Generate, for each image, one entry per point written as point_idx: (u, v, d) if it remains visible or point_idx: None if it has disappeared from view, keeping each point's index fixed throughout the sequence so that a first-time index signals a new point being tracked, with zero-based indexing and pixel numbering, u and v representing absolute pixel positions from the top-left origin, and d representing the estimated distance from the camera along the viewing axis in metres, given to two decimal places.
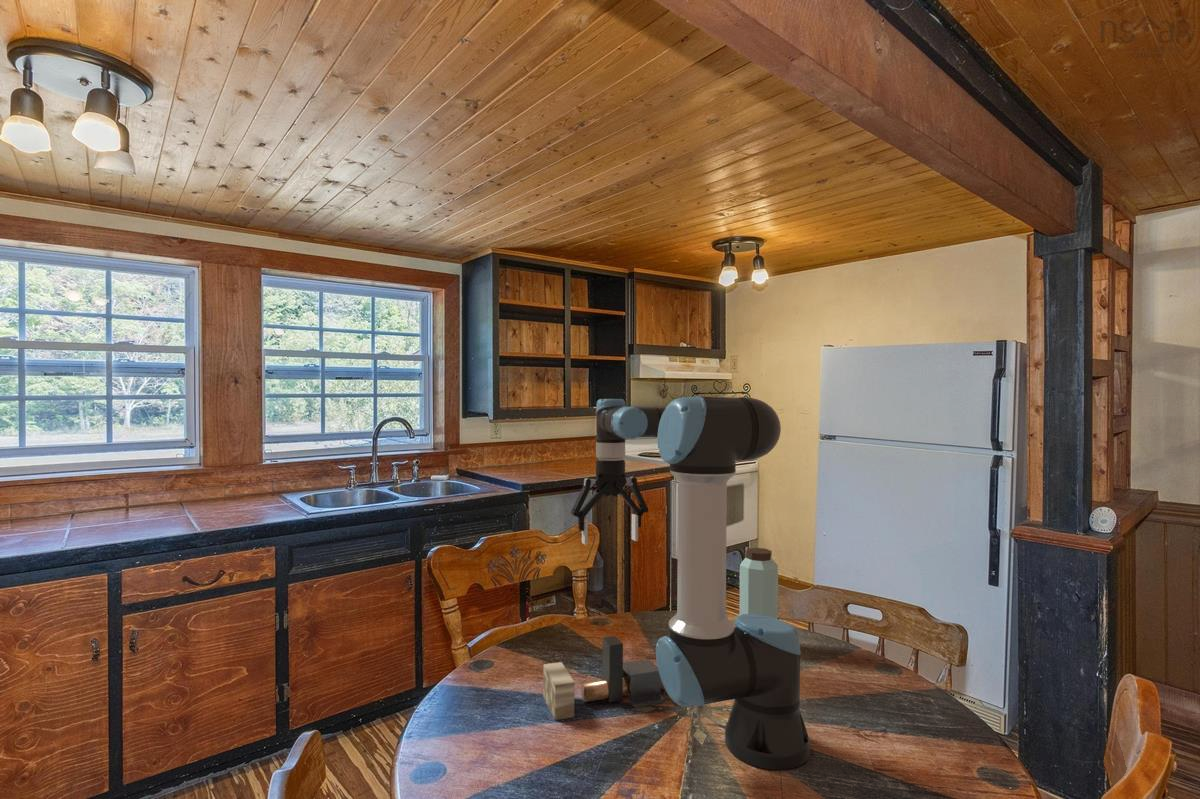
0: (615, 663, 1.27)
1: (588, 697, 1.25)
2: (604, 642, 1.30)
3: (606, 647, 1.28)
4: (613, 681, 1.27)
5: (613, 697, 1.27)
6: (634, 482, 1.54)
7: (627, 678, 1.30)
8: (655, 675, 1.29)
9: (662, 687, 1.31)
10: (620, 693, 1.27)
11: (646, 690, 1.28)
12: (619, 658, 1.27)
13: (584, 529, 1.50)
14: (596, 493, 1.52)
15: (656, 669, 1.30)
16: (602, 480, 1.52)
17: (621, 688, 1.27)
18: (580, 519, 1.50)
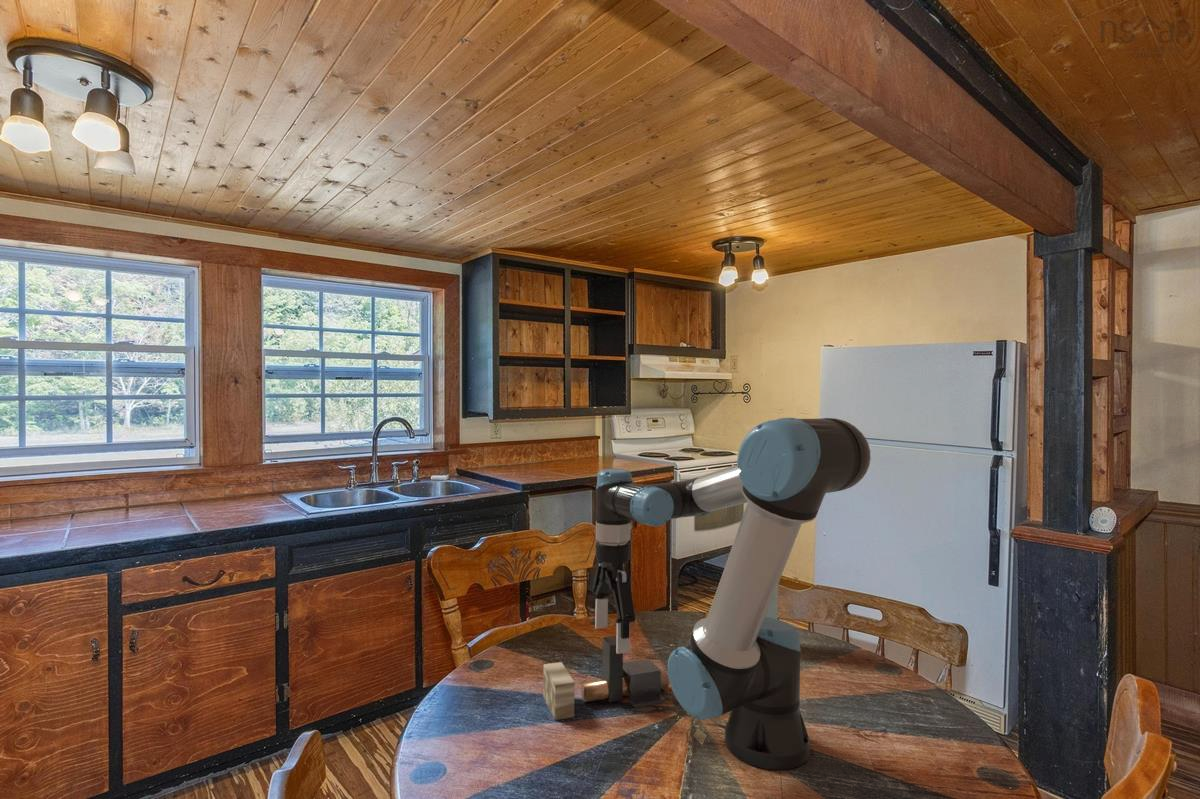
0: (615, 663, 1.27)
1: (588, 697, 1.25)
2: (604, 642, 1.30)
3: (606, 647, 1.28)
4: (613, 681, 1.27)
5: (613, 697, 1.27)
6: (617, 578, 1.23)
7: (627, 678, 1.30)
8: (655, 675, 1.29)
9: (662, 687, 1.31)
10: (620, 693, 1.27)
11: (646, 690, 1.28)
12: (619, 658, 1.27)
13: None
14: None
15: (656, 669, 1.30)
16: (604, 563, 1.31)
17: (621, 688, 1.27)
18: (597, 598, 1.37)
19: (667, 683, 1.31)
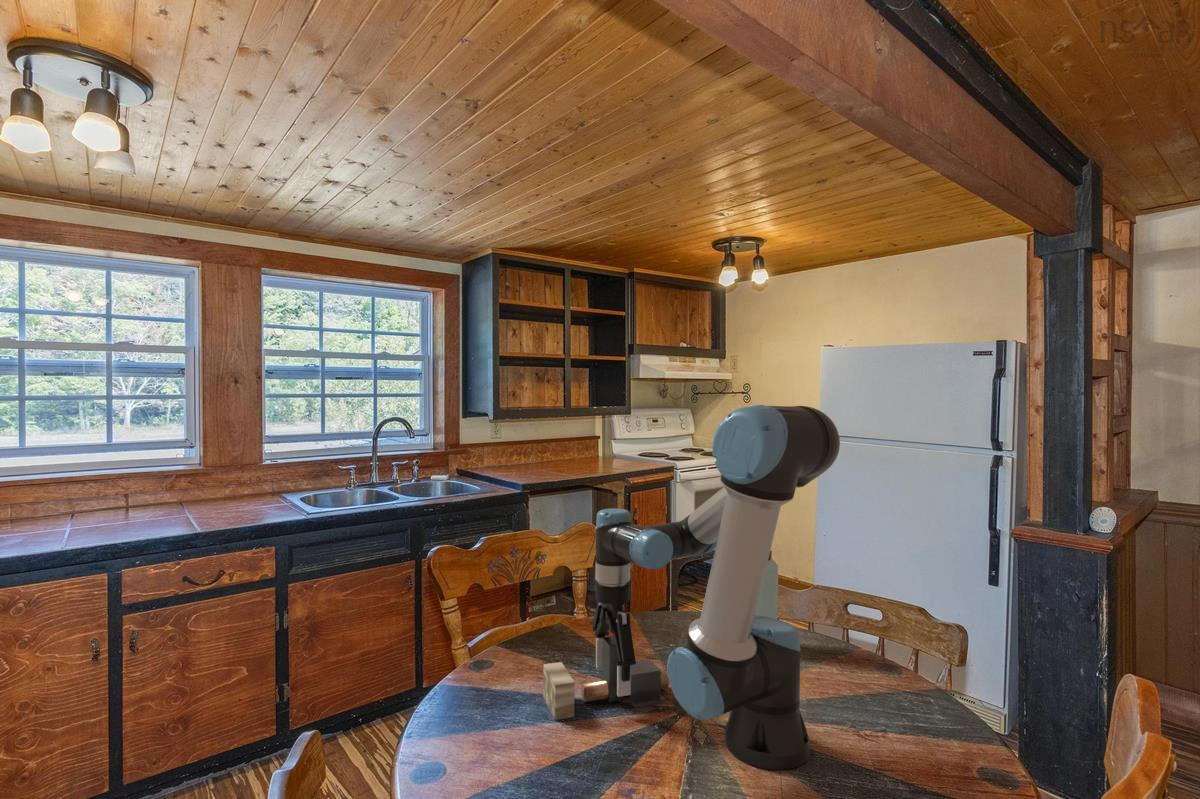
0: (615, 663, 1.27)
1: (588, 697, 1.25)
2: (604, 642, 1.30)
3: (606, 647, 1.28)
4: (613, 681, 1.27)
5: (613, 697, 1.27)
6: (617, 620, 1.23)
7: None
8: (655, 675, 1.29)
9: (662, 687, 1.31)
10: None
11: (646, 690, 1.28)
12: None
13: None
14: None
15: (656, 669, 1.30)
16: None
17: None
18: (597, 637, 1.37)
19: (667, 683, 1.31)
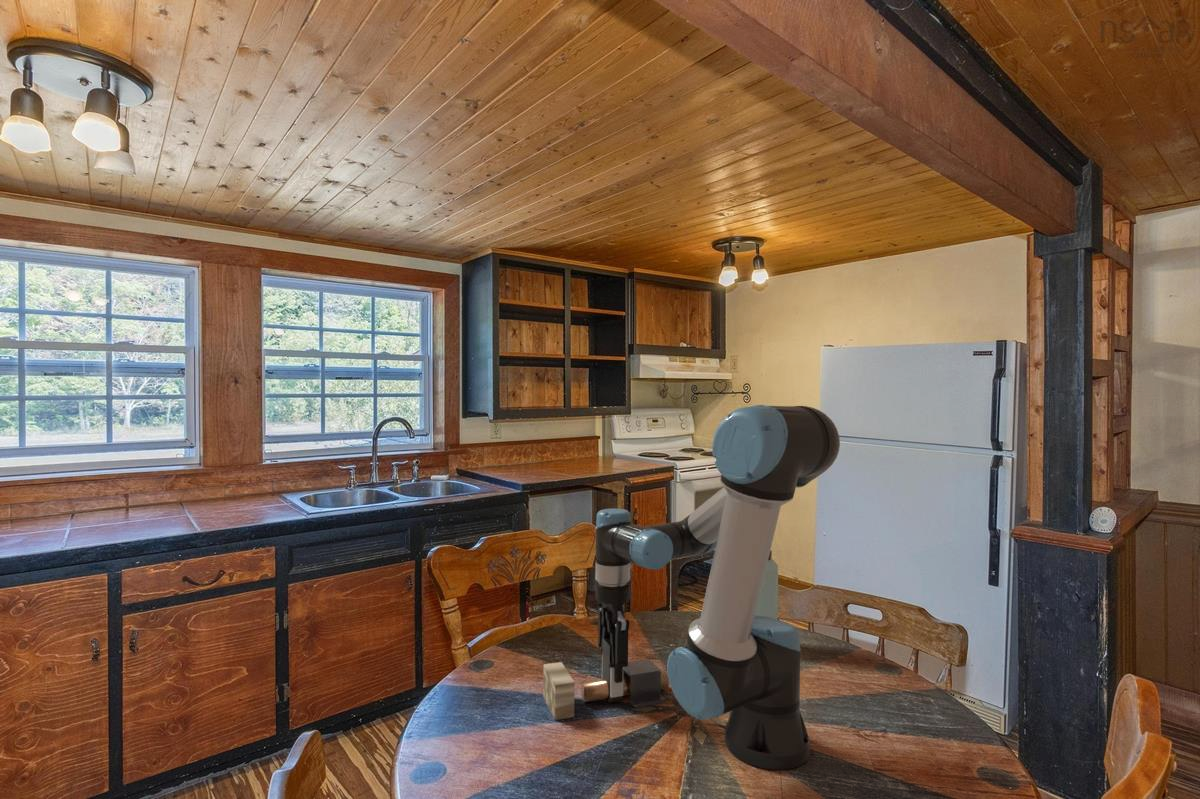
0: None
1: (588, 697, 1.25)
2: (604, 642, 1.30)
3: (606, 647, 1.28)
4: None
5: (613, 697, 1.27)
6: (616, 626, 1.23)
7: (627, 678, 1.30)
8: (655, 675, 1.29)
9: (662, 687, 1.31)
10: None
11: (646, 690, 1.28)
12: None
13: None
14: None
15: (656, 669, 1.30)
16: None
17: None
18: None
19: (667, 683, 1.31)
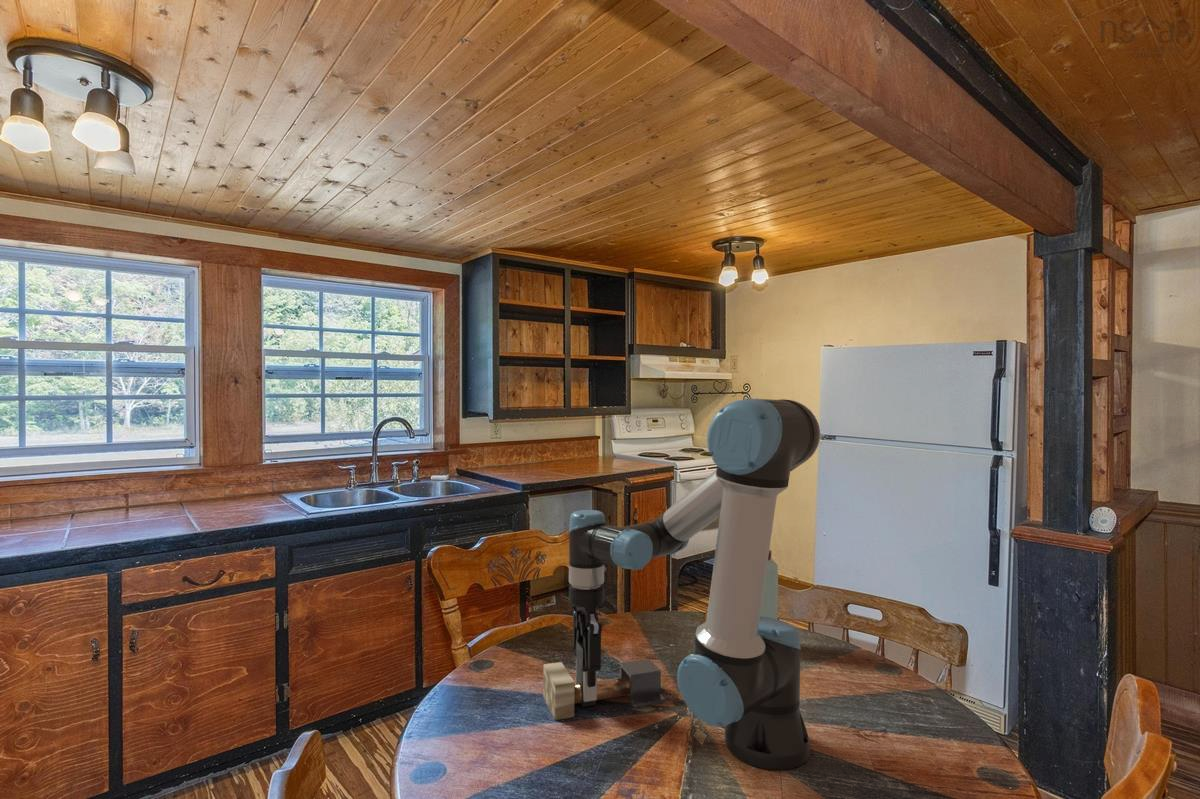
0: None
1: None
2: (577, 645, 1.28)
3: (580, 650, 1.26)
4: None
5: None
6: (589, 629, 1.21)
7: (601, 682, 1.28)
8: (655, 675, 1.29)
9: None
10: None
11: (646, 690, 1.28)
12: None
13: None
14: None
15: (656, 669, 1.30)
16: None
17: None
18: None
19: None
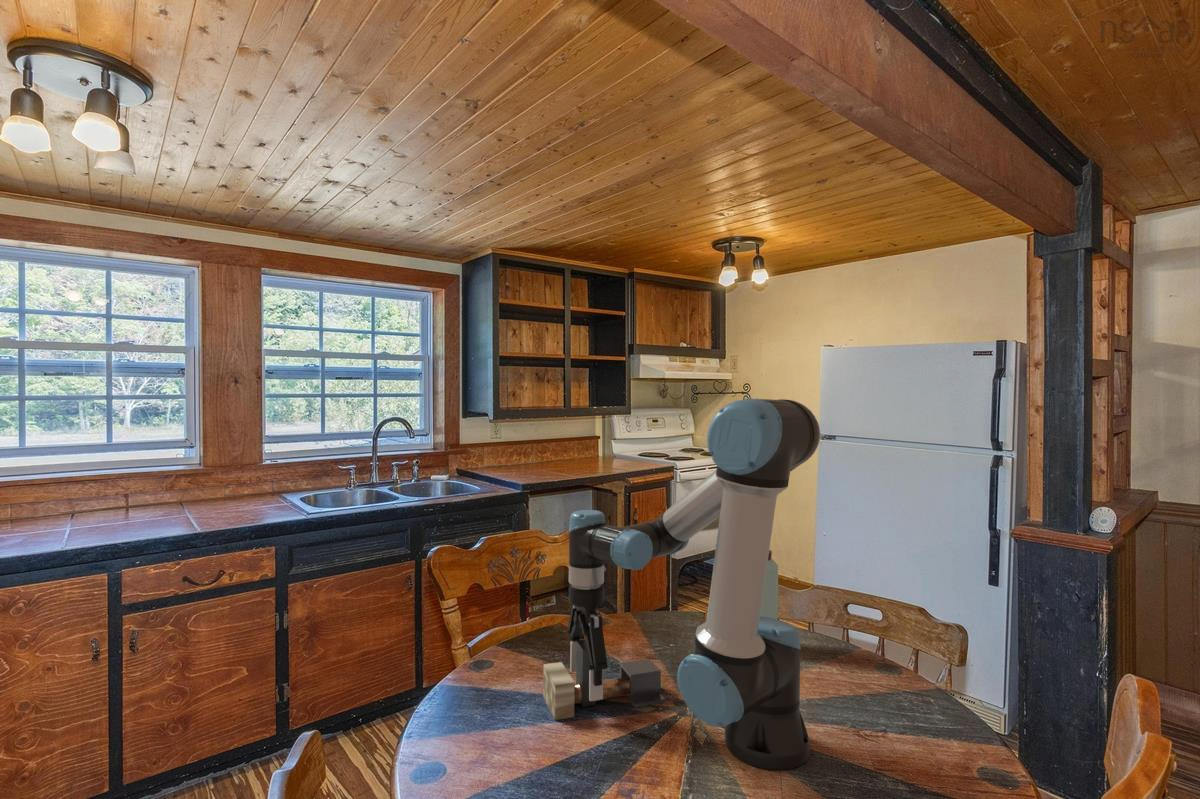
0: None
1: None
2: (577, 645, 1.28)
3: (580, 650, 1.26)
4: (586, 685, 1.25)
5: (586, 701, 1.25)
6: (589, 623, 1.21)
7: None
8: (655, 675, 1.29)
9: None
10: None
11: (646, 690, 1.28)
12: None
13: None
14: None
15: (656, 669, 1.30)
16: None
17: None
18: (572, 640, 1.35)
19: None
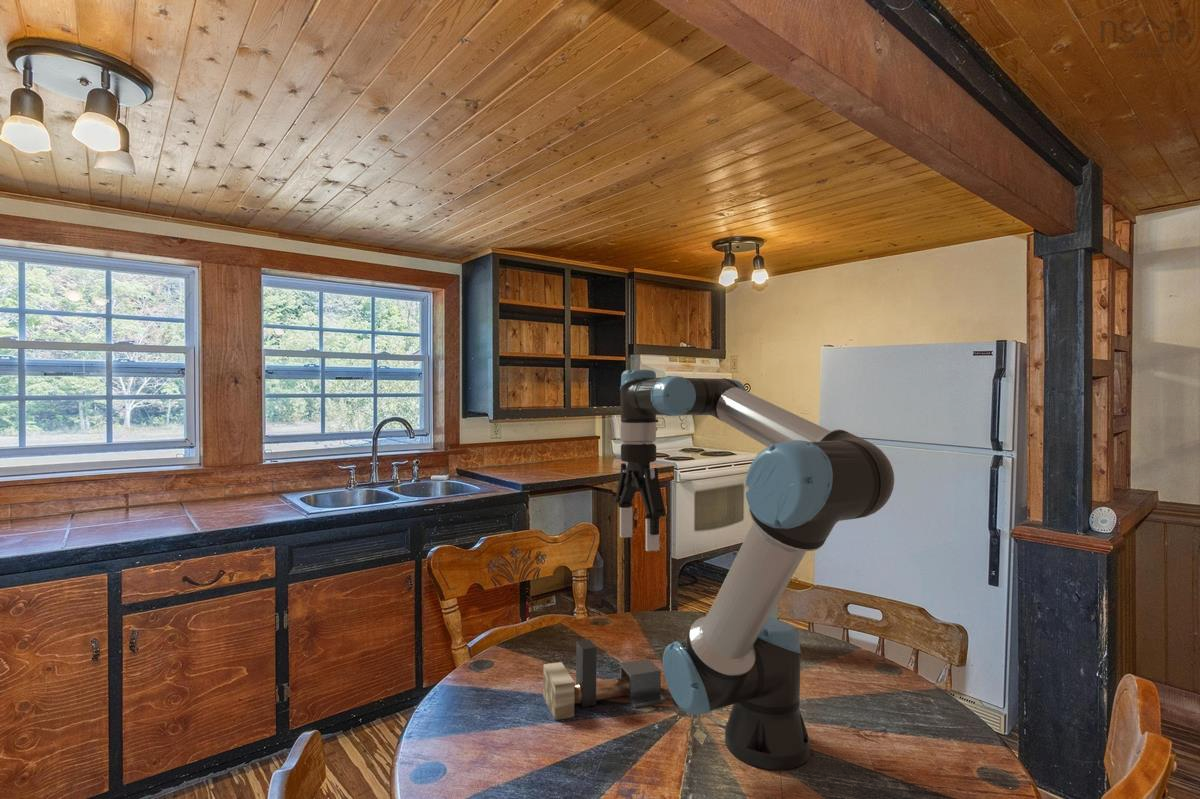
0: (588, 667, 1.25)
1: None
2: (577, 645, 1.28)
3: (580, 650, 1.26)
4: (586, 685, 1.25)
5: (586, 701, 1.25)
6: (645, 474, 1.21)
7: (601, 682, 1.28)
8: (655, 675, 1.29)
9: None
10: (593, 697, 1.25)
11: (646, 690, 1.28)
12: (593, 662, 1.25)
13: None
14: None
15: (656, 669, 1.30)
16: (629, 467, 1.29)
17: (594, 692, 1.25)
18: (621, 507, 1.34)
19: None
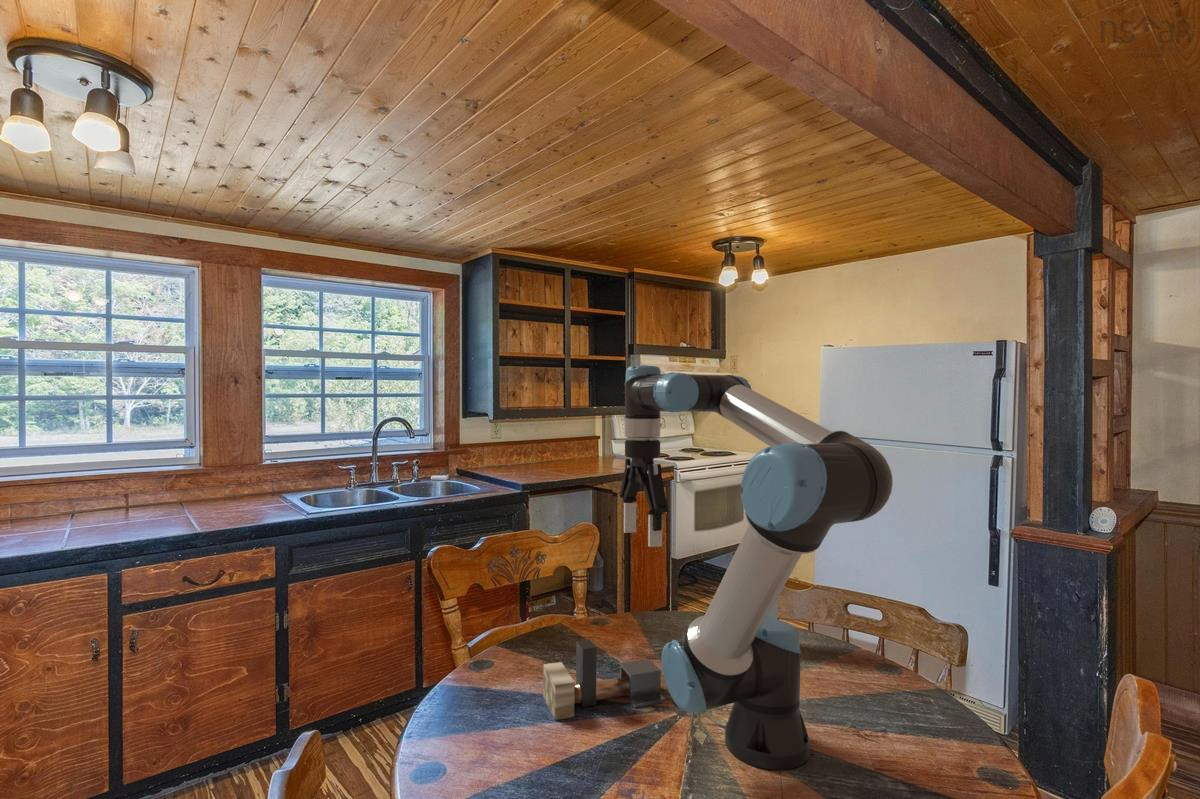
0: (588, 667, 1.25)
1: None
2: (577, 645, 1.28)
3: (580, 650, 1.26)
4: (586, 685, 1.25)
5: (586, 701, 1.25)
6: (648, 470, 1.21)
7: (601, 682, 1.28)
8: (655, 675, 1.29)
9: None
10: (593, 697, 1.25)
11: (646, 690, 1.28)
12: (593, 662, 1.25)
13: None
14: None
15: (656, 669, 1.30)
16: (633, 462, 1.29)
17: (594, 692, 1.25)
18: (625, 503, 1.35)
19: None
